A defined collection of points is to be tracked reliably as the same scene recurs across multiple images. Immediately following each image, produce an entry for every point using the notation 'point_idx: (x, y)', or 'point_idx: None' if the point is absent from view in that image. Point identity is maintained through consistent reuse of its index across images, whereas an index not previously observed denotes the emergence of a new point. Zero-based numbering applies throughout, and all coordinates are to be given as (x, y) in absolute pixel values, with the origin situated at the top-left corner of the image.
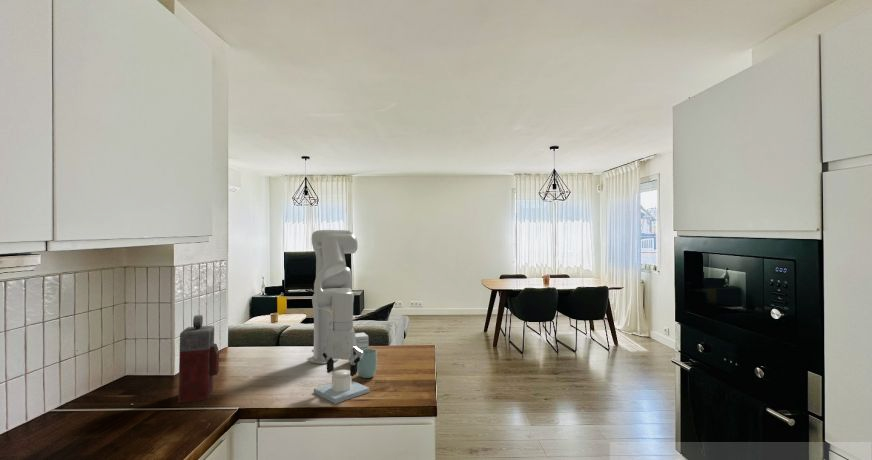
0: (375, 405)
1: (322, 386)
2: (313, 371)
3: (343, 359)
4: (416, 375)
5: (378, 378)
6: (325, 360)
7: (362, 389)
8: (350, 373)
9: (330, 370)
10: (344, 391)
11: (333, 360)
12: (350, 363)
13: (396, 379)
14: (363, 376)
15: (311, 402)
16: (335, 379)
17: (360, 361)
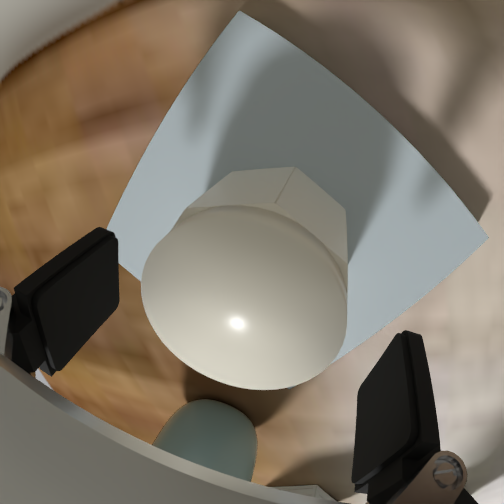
0: (37, 72)
1: (434, 272)
2: (467, 453)
3: (33, 377)
4: (64, 381)
5: (161, 391)
6: (462, 464)
7: (122, 219)
8: (98, 245)
9: (384, 364)
10: (224, 171)
11: (353, 481)
12: (329, 496)
13: (94, 366)
14: (216, 405)
15: (441, 36)
16: (287, 204)
17: None
